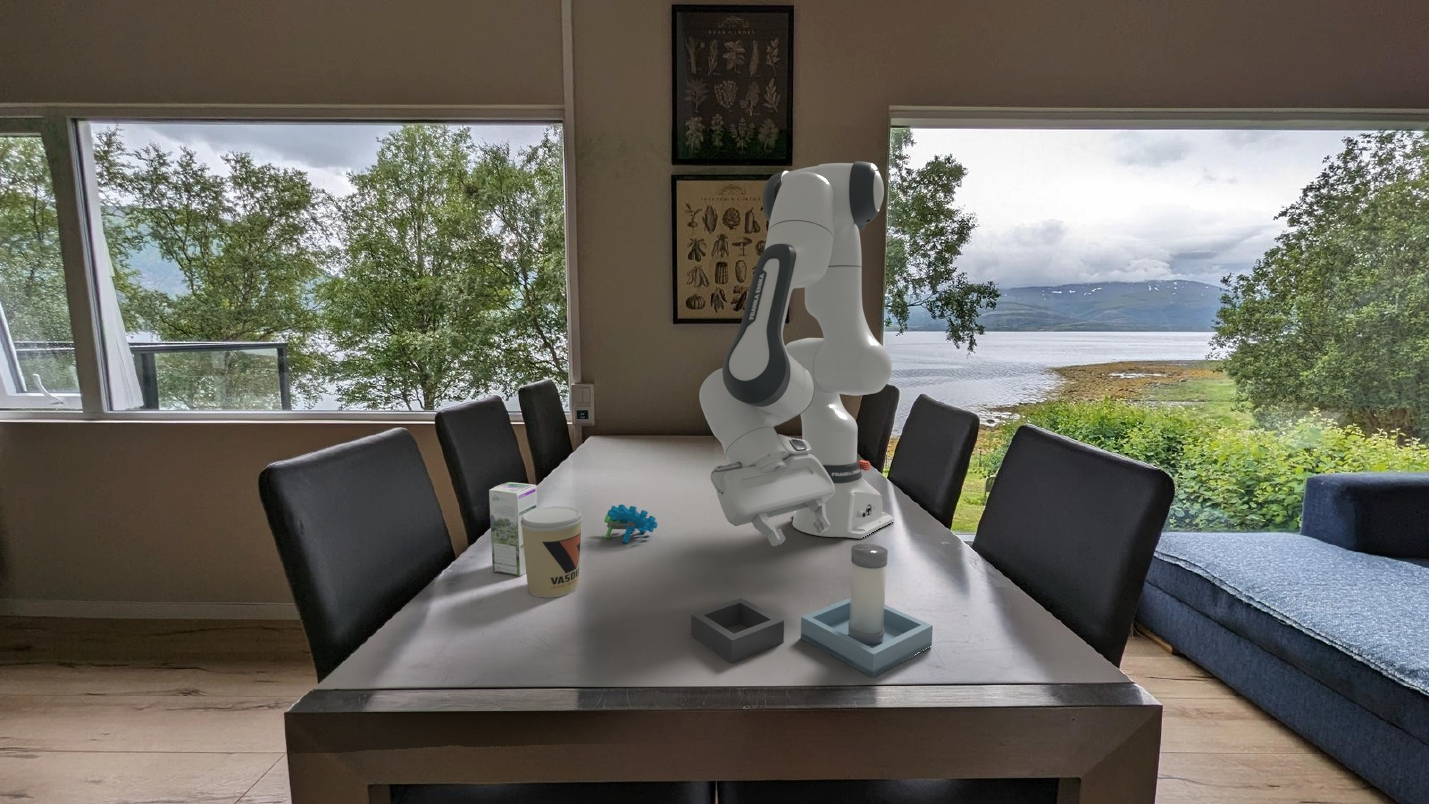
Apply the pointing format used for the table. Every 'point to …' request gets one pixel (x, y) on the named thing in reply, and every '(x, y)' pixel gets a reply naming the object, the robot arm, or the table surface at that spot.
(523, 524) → the cream lidded tub
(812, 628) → the tray
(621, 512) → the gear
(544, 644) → the table surface
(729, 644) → the socket
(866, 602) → the cylinder
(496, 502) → the syrup box
